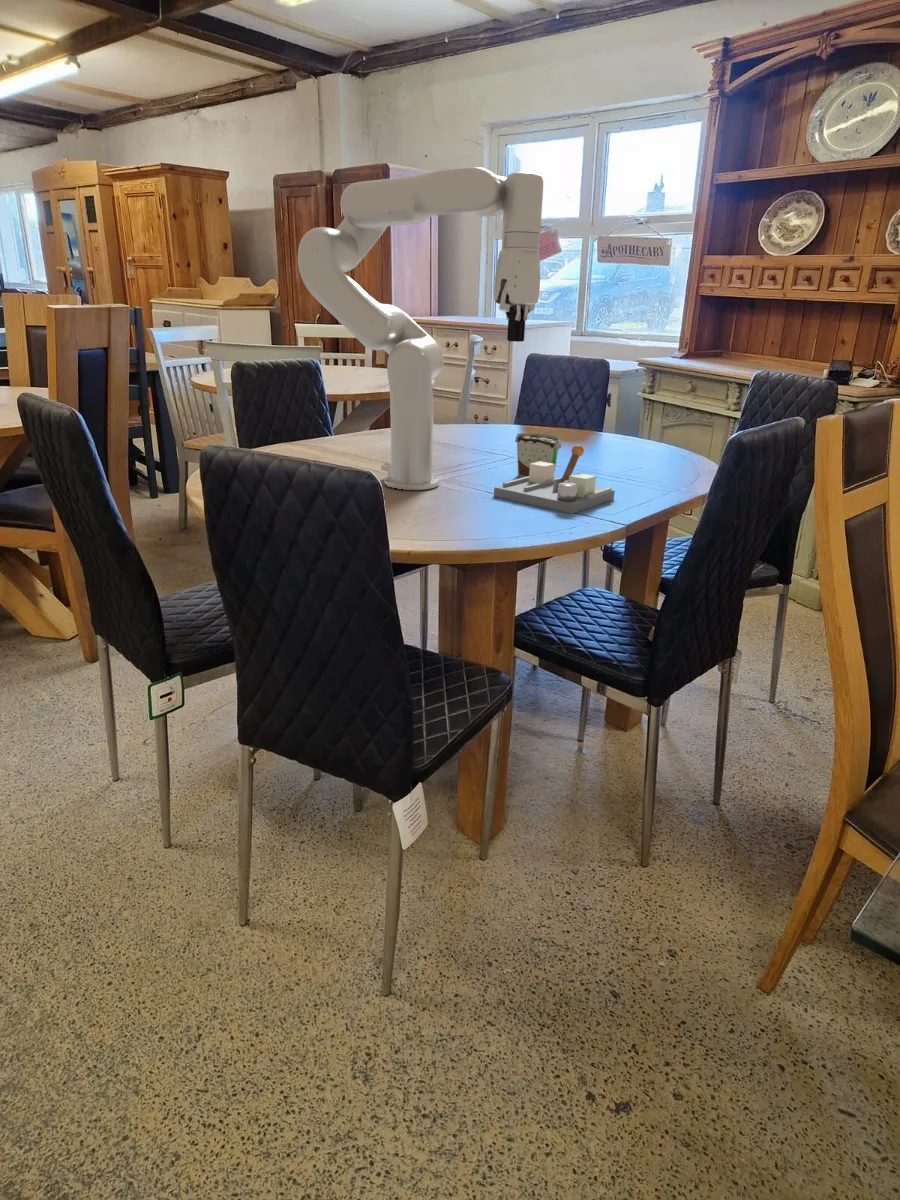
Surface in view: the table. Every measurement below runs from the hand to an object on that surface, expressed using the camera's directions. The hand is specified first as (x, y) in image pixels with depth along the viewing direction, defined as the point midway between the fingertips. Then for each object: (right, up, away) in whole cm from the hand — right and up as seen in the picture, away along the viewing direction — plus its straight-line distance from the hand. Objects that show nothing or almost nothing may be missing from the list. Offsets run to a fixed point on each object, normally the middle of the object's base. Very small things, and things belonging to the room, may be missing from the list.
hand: (515, 340), depth 158 cm
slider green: (+14, -32, +3) cm, 35 cm away
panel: (+9, -32, +8) cm, 34 cm away
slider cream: (+7, -27, +14) cm, 31 cm away
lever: (+11, -29, +6) cm, 32 cm away
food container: (+9, -24, +28) cm, 38 cm away
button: (+11, -33, -1) cm, 35 cm away
